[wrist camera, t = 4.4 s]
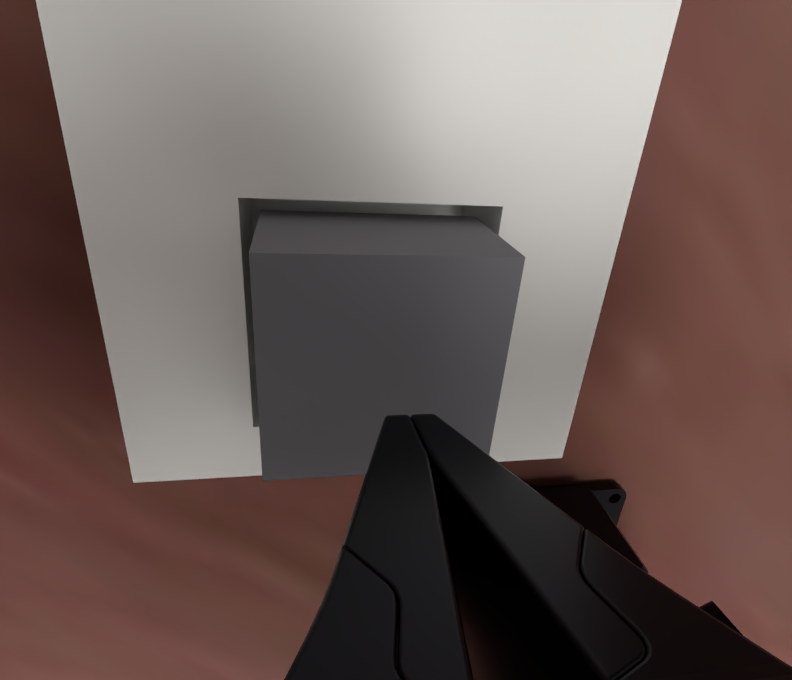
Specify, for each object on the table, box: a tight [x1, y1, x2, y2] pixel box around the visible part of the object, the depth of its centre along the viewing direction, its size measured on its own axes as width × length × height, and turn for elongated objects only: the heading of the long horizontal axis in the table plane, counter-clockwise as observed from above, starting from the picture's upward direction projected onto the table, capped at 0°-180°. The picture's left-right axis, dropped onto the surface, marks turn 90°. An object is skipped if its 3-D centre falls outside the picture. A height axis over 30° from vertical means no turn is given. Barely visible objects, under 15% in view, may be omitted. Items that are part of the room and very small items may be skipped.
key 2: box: [249, 210, 525, 481], centre depth 12 cm, size 5×5×3 cm
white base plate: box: [36, 0, 682, 483], centre depth 11 cm, size 22×12×4 cm, turn 176°
